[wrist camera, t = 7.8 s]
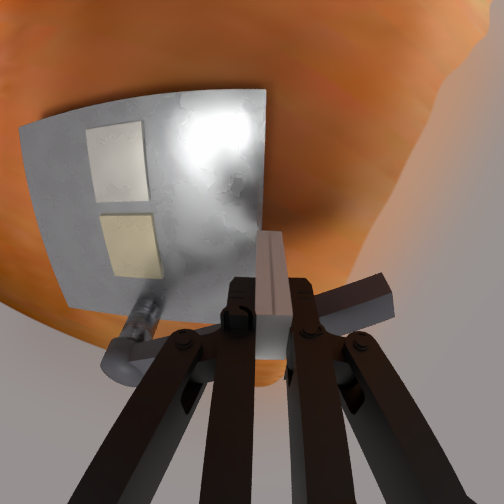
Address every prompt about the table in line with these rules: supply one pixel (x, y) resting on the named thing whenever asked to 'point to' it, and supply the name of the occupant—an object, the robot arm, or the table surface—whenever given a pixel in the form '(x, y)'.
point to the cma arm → (143, 354)
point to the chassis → (150, 202)
